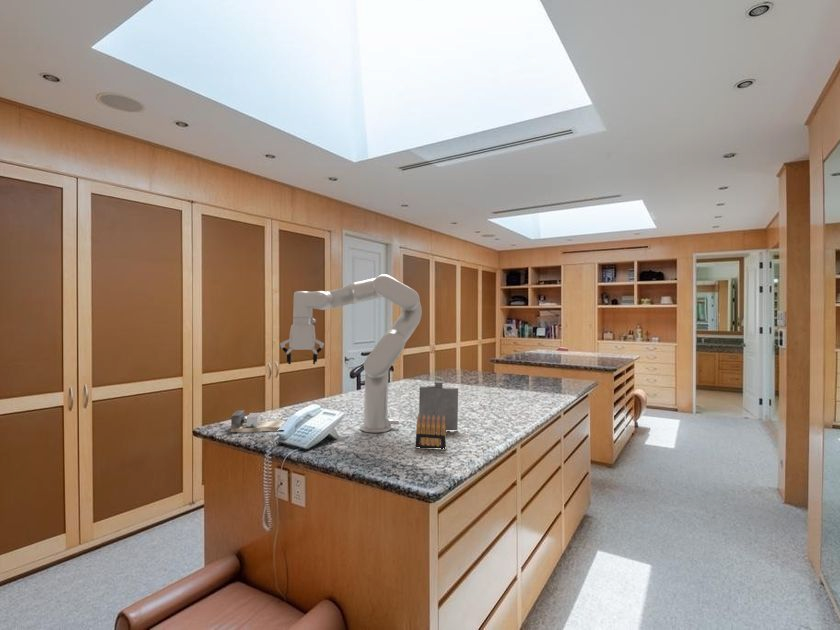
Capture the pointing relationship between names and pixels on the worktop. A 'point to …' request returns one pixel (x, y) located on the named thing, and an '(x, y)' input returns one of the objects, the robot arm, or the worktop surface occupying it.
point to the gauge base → (242, 427)
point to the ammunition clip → (430, 433)
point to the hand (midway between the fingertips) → (301, 363)
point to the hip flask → (439, 404)
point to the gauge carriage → (252, 419)
